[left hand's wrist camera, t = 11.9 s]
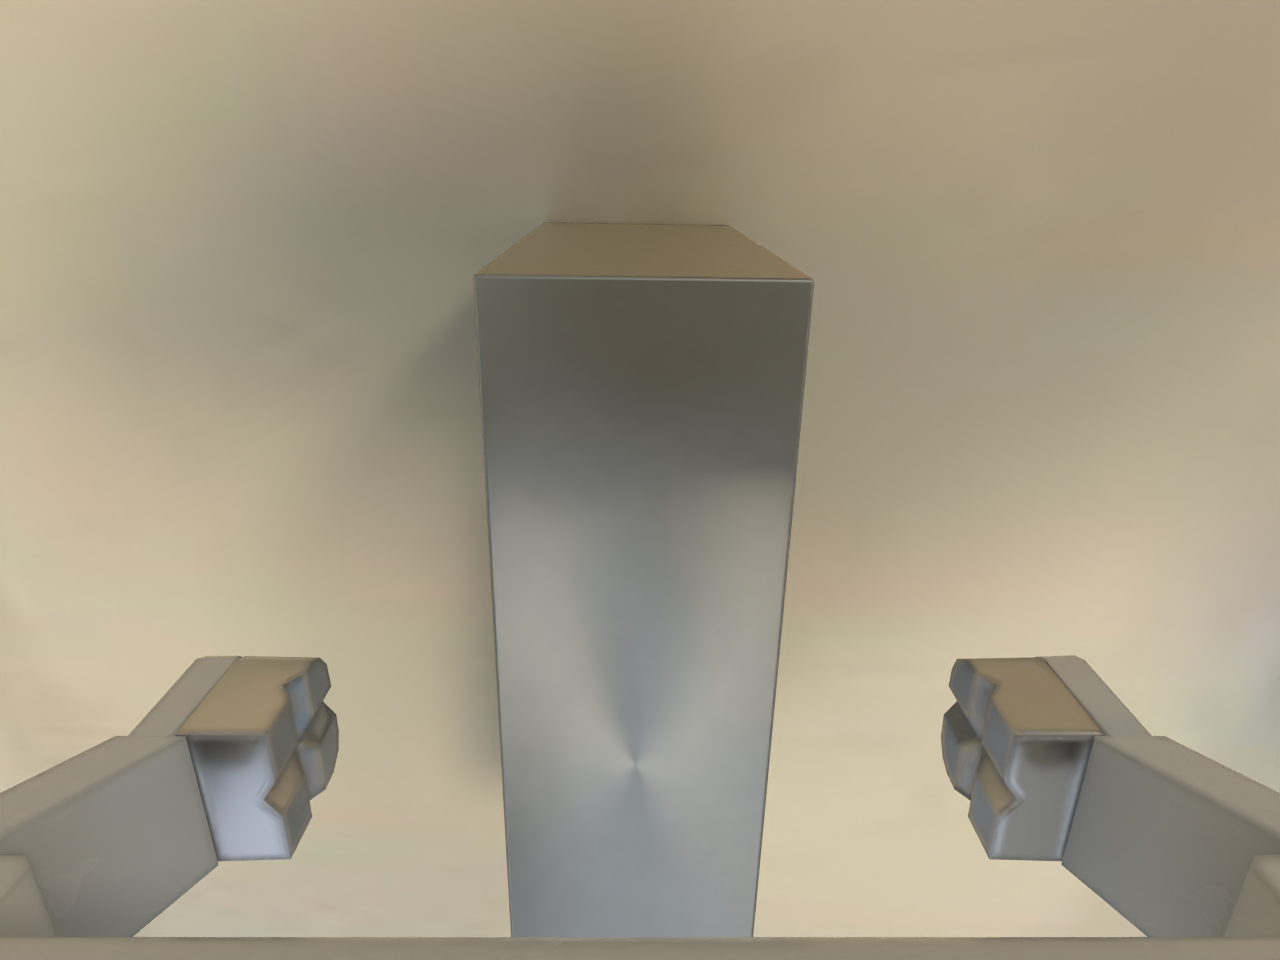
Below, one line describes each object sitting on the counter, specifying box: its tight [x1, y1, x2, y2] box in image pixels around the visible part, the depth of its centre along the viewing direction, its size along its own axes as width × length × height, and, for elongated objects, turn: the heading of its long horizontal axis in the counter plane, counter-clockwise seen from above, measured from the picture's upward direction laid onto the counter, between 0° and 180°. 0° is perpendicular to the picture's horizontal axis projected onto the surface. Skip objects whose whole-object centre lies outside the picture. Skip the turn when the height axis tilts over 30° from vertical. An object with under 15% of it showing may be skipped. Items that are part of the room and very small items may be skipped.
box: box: [474, 223, 814, 937], centre depth 24 cm, size 21×6×13 cm, turn 179°
